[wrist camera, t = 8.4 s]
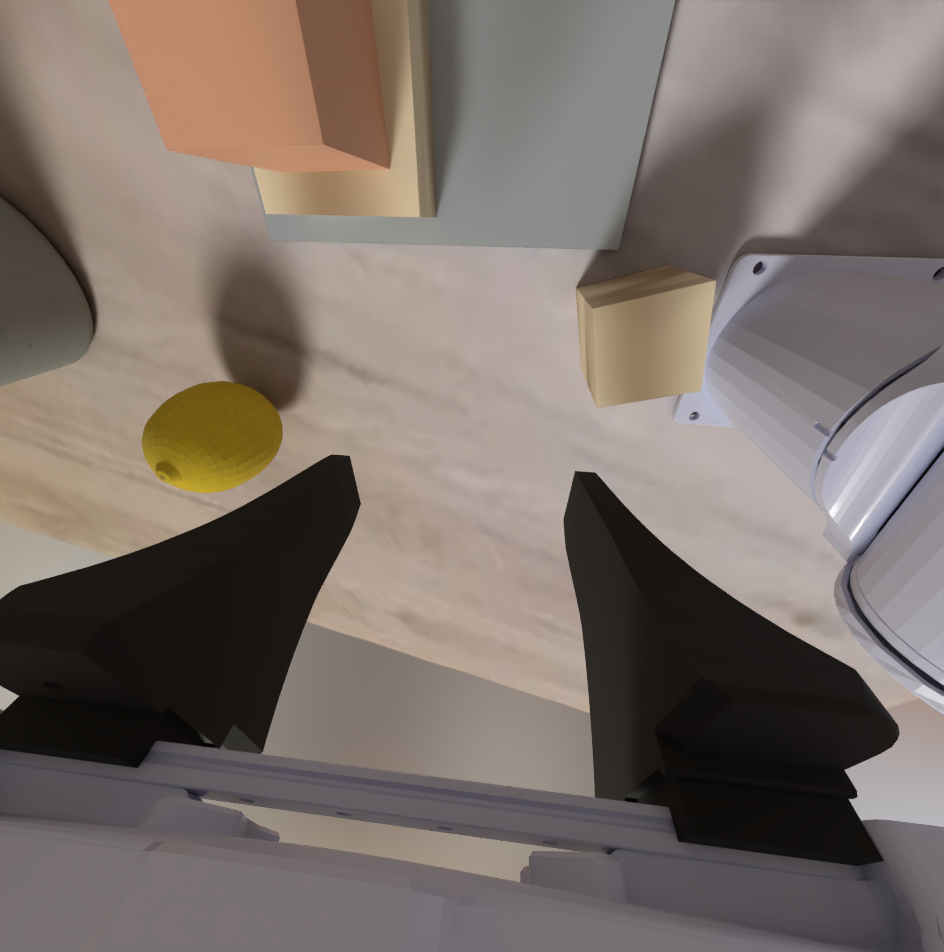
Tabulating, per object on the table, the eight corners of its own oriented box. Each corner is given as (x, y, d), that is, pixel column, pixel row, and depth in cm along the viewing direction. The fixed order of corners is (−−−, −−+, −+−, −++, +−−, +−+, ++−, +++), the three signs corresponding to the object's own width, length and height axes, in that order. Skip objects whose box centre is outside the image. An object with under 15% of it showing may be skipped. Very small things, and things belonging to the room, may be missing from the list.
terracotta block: (368, -22, 10) (257, -195, 6) (390, 169, 12) (323, 144, 8) (235, -12, 10) (44, -164, 6) (282, 172, 12) (167, 149, 8)
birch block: (667, 265, 16) (716, 280, 12) (661, 352, 18) (700, 390, 14) (575, 287, 17) (592, 308, 13) (581, 368, 19) (596, 407, 15)
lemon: (203, 366, 21) (68, 428, 15) (283, 358, 20) (174, 421, 14) (248, 443, 25) (152, 521, 18) (319, 439, 24) (243, 520, 17)
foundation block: (428, -8, 11) (403, -68, 9) (436, 217, 15) (419, 217, 13) (258, -2, 12) (192, -57, 10) (305, 214, 16) (265, 214, 13)
